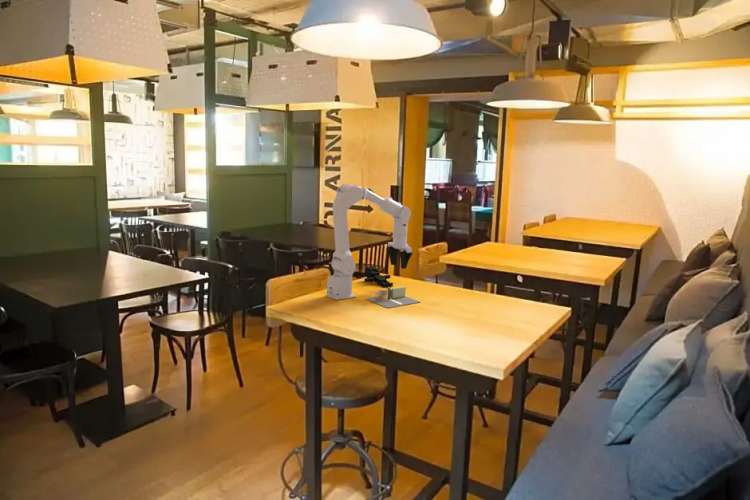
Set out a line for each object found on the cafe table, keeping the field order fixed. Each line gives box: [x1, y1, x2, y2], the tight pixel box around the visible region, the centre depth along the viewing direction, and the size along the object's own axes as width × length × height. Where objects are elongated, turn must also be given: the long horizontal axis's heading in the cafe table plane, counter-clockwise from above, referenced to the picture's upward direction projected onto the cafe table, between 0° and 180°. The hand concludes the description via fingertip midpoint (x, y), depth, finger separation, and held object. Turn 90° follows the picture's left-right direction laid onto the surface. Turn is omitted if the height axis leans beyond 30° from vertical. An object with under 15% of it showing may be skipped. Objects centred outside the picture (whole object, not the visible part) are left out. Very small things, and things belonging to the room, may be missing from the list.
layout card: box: [365, 295, 421, 309], centre depth 211 cm, size 16×14×1 cm
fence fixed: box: [374, 287, 392, 301], centre depth 210 cm, size 7×1×5 cm, turn 126°
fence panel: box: [390, 286, 407, 298], centre depth 214 cm, size 7×1×4 cm, turn 126°
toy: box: [363, 265, 394, 288], centre depth 237 cm, size 14×6×15 cm
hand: (398, 266), depth 226 cm, fingers open, 7 cm apart
